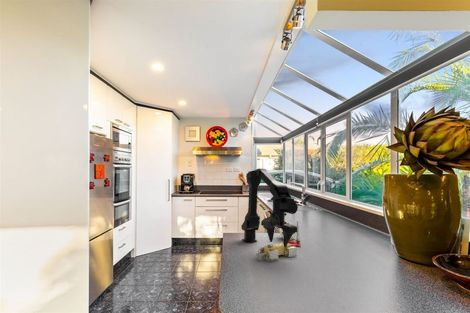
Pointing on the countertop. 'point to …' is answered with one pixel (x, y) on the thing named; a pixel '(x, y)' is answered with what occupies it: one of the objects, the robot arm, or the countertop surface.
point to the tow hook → (296, 237)
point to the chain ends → (274, 254)
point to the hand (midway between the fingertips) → (277, 244)
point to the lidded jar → (283, 235)
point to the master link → (276, 248)
